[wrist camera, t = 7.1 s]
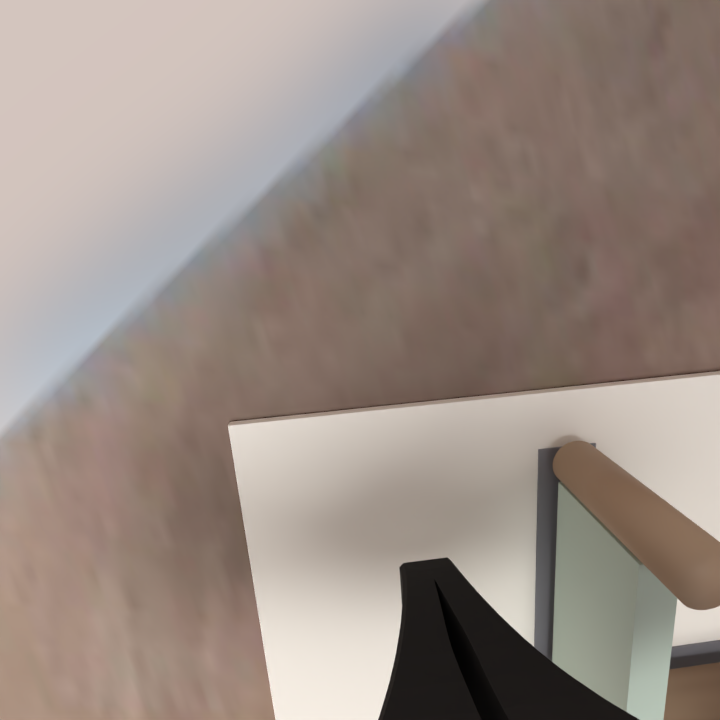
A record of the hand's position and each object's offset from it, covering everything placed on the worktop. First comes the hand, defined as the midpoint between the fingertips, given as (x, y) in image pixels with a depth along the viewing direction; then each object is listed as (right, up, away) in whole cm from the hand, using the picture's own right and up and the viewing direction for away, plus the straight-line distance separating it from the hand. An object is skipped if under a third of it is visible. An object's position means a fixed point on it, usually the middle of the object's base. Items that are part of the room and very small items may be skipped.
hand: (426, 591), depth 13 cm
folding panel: (+5, 0, +2) cm, 5 cm away
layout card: (+5, -5, +4) cm, 9 cm away
